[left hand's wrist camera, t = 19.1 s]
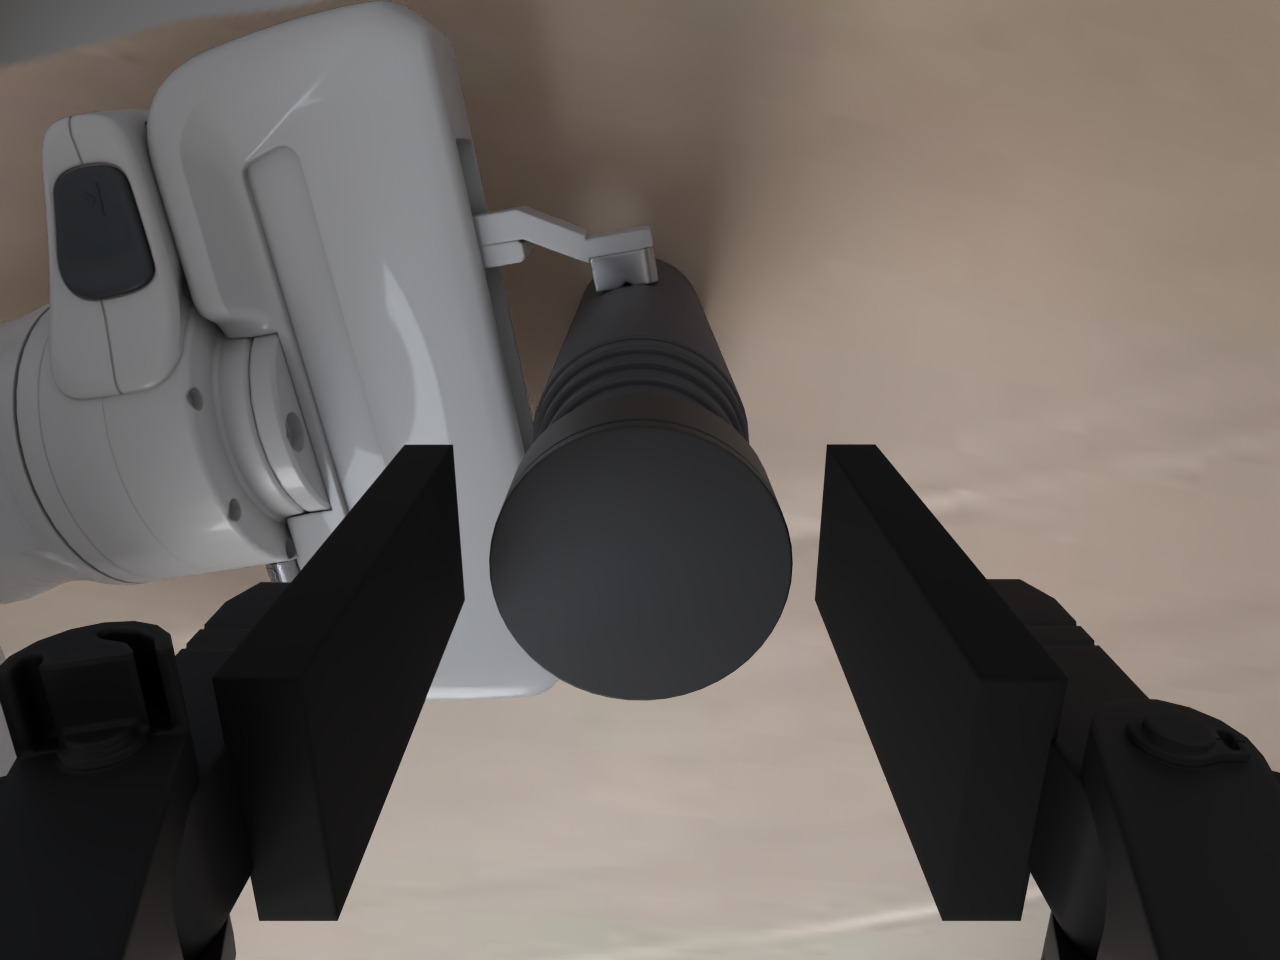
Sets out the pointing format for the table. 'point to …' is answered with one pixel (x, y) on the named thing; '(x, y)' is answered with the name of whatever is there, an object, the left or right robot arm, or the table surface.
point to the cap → (640, 549)
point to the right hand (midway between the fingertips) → (670, 351)
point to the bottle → (641, 352)
